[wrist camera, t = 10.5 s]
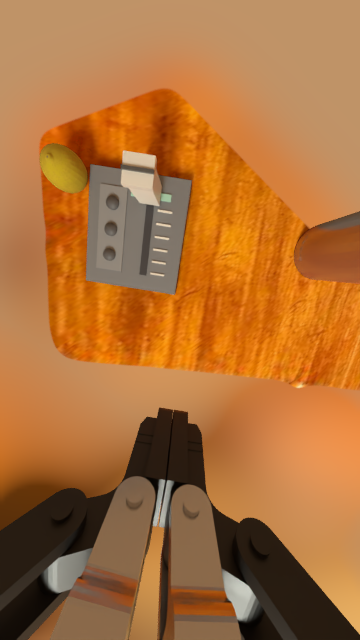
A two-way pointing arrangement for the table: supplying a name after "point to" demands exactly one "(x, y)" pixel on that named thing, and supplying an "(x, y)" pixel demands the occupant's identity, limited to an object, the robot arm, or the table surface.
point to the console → (135, 232)
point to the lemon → (63, 168)
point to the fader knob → (141, 177)
